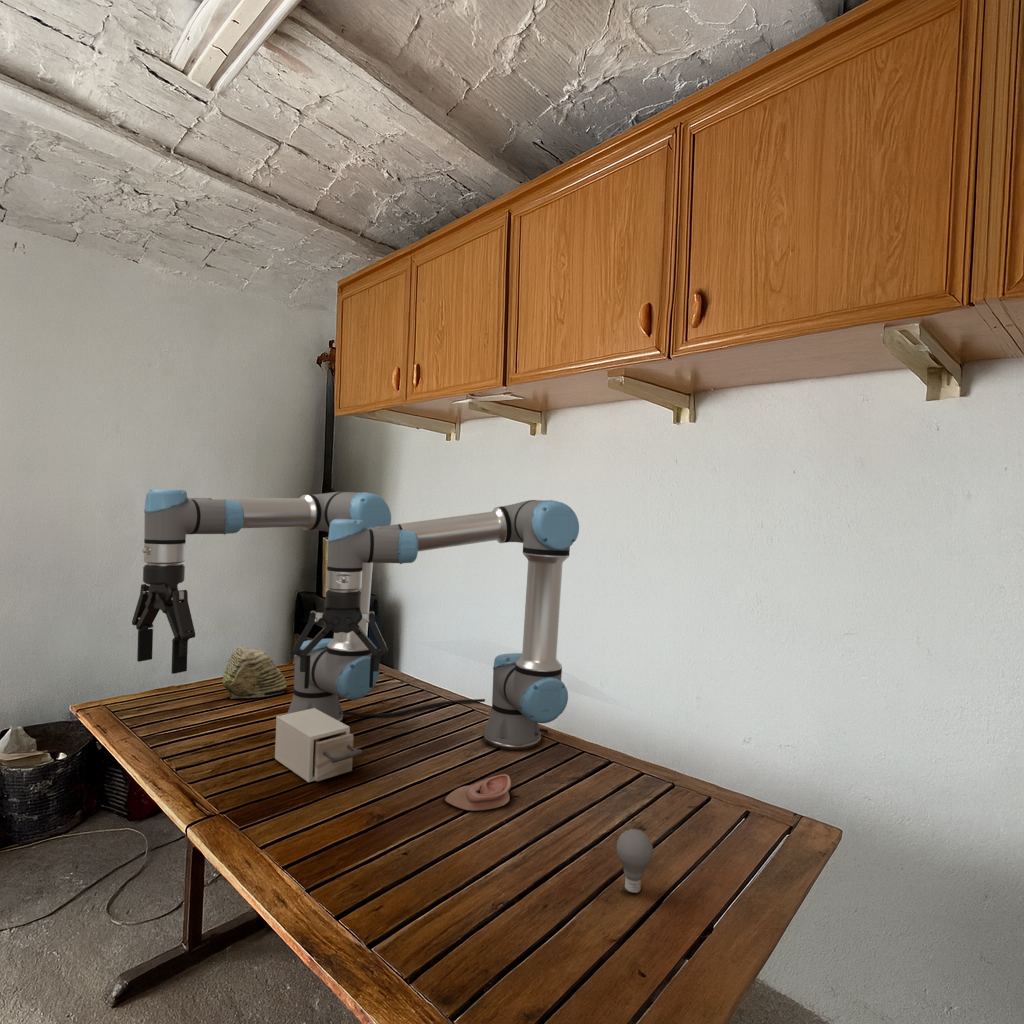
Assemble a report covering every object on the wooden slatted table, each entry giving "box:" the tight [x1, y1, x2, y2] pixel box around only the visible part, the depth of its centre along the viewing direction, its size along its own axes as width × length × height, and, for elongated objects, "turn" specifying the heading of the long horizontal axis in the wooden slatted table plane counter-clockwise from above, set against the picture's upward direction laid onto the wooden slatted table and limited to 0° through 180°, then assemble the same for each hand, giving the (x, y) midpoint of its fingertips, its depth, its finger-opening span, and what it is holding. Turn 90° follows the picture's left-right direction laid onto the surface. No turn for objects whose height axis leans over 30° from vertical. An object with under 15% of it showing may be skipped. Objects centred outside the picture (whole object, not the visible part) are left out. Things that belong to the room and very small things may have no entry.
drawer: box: [313, 733, 363, 782], centre depth 145 cm, size 21×9×8 cm, turn 46°
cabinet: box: [274, 708, 351, 783], centre depth 149 cm, size 17×10×10 cm, turn 46°
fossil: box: [222, 646, 288, 699], centre depth 198 cm, size 9×18×15 cm, turn 132°
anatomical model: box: [444, 773, 512, 812], centre depth 136 cm, size 13×4×12 cm
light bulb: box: [615, 828, 654, 894], centre depth 106 cm, size 6×6×10 cm
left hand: (161, 666), depth 131 cm, fingers open, 13 cm apart
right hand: (339, 686), depth 139 cm, fingers open, 13 cm apart
